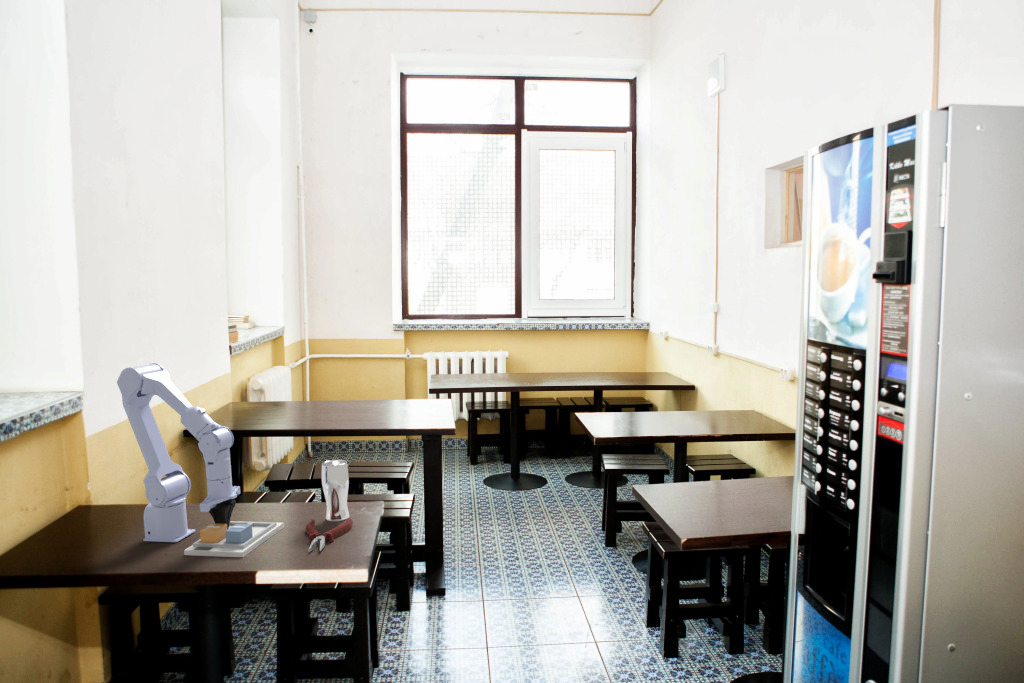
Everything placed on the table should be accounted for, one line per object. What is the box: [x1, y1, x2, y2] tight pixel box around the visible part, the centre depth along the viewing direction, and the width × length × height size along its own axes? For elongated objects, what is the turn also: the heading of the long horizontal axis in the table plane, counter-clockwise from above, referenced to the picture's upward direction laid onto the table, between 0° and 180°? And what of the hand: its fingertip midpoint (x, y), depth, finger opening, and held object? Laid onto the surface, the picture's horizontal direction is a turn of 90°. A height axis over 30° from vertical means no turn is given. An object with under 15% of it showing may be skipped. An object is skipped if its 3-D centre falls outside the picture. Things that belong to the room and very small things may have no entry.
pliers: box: [305, 517, 354, 554], centre depth 181 cm, size 12×20×3 cm, turn 2°
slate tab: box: [225, 524, 253, 544], centre depth 177 cm, size 4×5×4 cm
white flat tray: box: [183, 520, 285, 558], centre depth 182 cm, size 15×20×2 cm
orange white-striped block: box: [199, 522, 227, 543], centre depth 178 cm, size 4×5×4 cm
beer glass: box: [321, 459, 350, 523], centre depth 195 cm, size 7×7×15 cm
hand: (223, 531), depth 182 cm, fingers closed
